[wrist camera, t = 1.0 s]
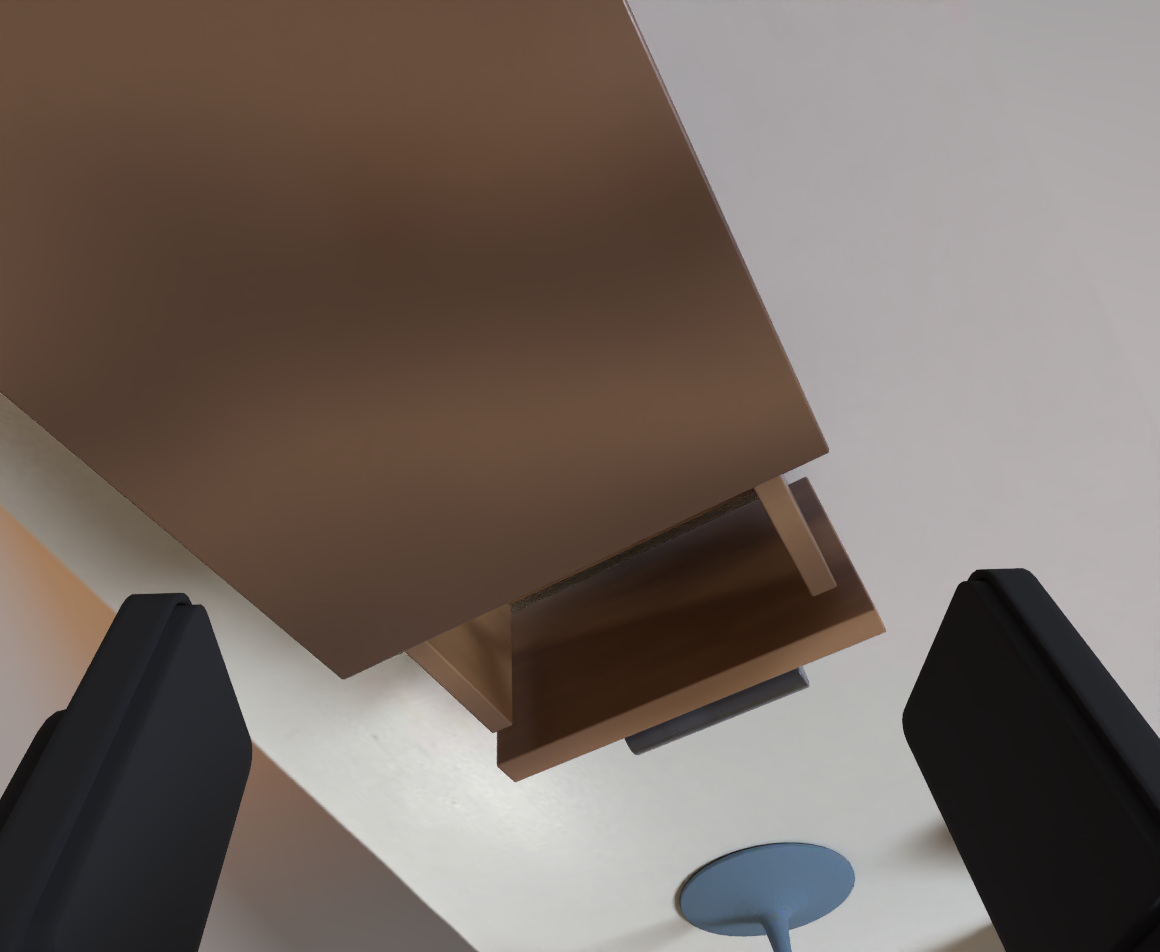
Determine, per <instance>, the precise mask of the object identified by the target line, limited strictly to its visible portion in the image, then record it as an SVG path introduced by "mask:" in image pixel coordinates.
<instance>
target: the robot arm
mask: <svg viewBox="0 0 1160 952" xmlns="http://www.w3.org/2000/svg"><path fill="white" fill-rule="evenodd" d="M902 723H903V730H904V735H905V737H906V740H907V742H908V745H909V747H910V749H911V751H912V753H913V755H914V757H915V759H916V762H917V764H918V766H919V768H920V770H921V772H922V774H923V776H924V779H925V781H926V783H927V785H928V787H929V789H930V791H931V793H932V796H933V798H934V800H935V802H936V804H937V806H938V808H939V810H940V812H941V815H942V817H943V819H944V821H945V823H946V825H947V827H948V829H949V832H950V834H951V836H952V838H953V840H954V842H955V844H956V846H957V849H958V851H959V853H960V855H961V857H962V859H963V861H964V863H965V866H966V868H967V870H968V872H969V874H970V876H971V878H972V880H973V883H974V885H975V887H976V889H977V891H978V893H979V895H980V897H981V900H982V902H983V904H984V906H985V908H986V910H987V912H988V914H989V917H990V919H991V921H992V923H993V925H994V927H995V929H996V931H997V934H998V936H999V938H1000V940H1001V942H1002V944H1003V946H1004V948H1005V951H1006V952H1160V738H1159V737H1158V736H1157V735H1156V733H1155V732H1154V731H1153V729H1152V728H1151V727H1150V725H1149V724H1148V723H1147V722H1146V720H1145V719H1144V718H1143V716H1142V715H1141V714H1140V712H1139V711H1138V710H1137V709H1136V707H1135V706H1134V705H1133V703H1132V702H1131V701H1130V699H1129V698H1128V697H1127V696H1126V694H1125V693H1124V692H1123V690H1122V689H1121V688H1120V686H1119V685H1118V684H1117V683H1116V681H1115V680H1114V679H1113V677H1112V676H1111V675H1110V673H1109V672H1108V671H1107V670H1106V668H1105V667H1104V666H1103V664H1102V663H1101V662H1100V660H1099V659H1098V658H1097V657H1096V655H1095V654H1094V653H1093V651H1092V650H1091V649H1090V647H1089V646H1088V645H1087V644H1086V642H1085V641H1084V640H1083V638H1082V637H1081V636H1080V634H1079V633H1078V632H1077V631H1076V629H1075V628H1074V627H1073V625H1072V624H1071V623H1070V621H1069V620H1068V619H1067V617H1066V616H1065V615H1064V614H1063V612H1062V611H1061V610H1060V608H1059V607H1058V606H1057V604H1056V603H1055V602H1054V601H1053V599H1052V598H1051V597H1050V595H1049V594H1048V593H1047V591H1046V590H1045V589H1044V588H1043V586H1042V585H1041V584H1040V582H1039V581H1038V580H1037V578H1036V577H1035V576H1034V575H1033V574H1032V573H1031V572H1030V571H1028V570H1026V569H1023V568H1016V569H982V570H976V571H975V572H973V573H972V574H971V576H970V577H969V579H968V581H963V582H962V583H960V584H959V585H958V587H957V589H956V591H955V593H954V595H953V598H952V600H951V602H950V605H949V607H948V609H947V612H946V614H945V616H944V619H943V621H942V623H941V626H940V628H939V630H938V632H937V635H936V637H935V639H934V642H933V644H932V646H931V649H930V651H929V653H928V656H927V658H926V660H925V663H924V665H923V667H922V669H921V672H920V674H919V676H918V679H917V681H916V683H915V686H914V688H913V690H912V693H911V695H910V697H909V699H908V702H907V704H906V706H905V709H904V712H903V718H902ZM251 761H252V743H251V738H250V735H249V733H248V730H247V727H246V724H245V721H244V718H243V715H242V712H241V709H240V707H239V704H238V701H237V698H236V695H235V692H234V689H233V686H232V683H231V681H230V678H229V675H228V672H227V669H226V666H225V663H224V660H223V657H222V655H221V652H220V649H219V646H218V643H217V640H216V637H215V634H214V632H213V629H212V626H211V623H210V620H209V617H208V614H207V612H206V610H205V607H204V606H202V605H192V603H191V601H190V599H189V597H188V596H187V595H186V594H184V593H162V594H132V595H130V596H129V597H127V598H126V600H125V601H124V602H123V604H122V605H121V607H120V609H119V611H118V613H117V615H116V617H115V618H114V620H113V622H112V624H111V626H110V628H109V630H108V632H107V634H106V636H105V637H104V639H103V641H102V643H101V645H100V647H99V649H98V650H97V652H96V654H95V656H94V658H93V660H92V662H91V664H90V665H89V667H88V669H87V671H86V673H85V675H84V677H83V679H82V681H81V682H80V684H79V686H78V688H77V690H76V692H75V694H74V696H73V697H72V699H71V701H70V703H69V705H68V707H67V709H65V710H61V711H57V712H55V713H54V714H53V715H52V716H50V717H49V718H48V719H47V720H46V721H45V722H44V724H43V725H42V727H41V728H40V729H39V731H38V732H37V734H36V735H35V737H34V739H33V741H32V743H31V745H30V746H29V748H28V750H27V752H26V754H25V755H24V757H23V759H22V761H21V763H20V764H19V766H18V768H17V770H16V772H15V774H14V775H13V777H12V779H11V781H10V783H9V784H8V786H7V788H6V790H5V792H4V794H3V795H2V797H1V799H0V952H198V949H199V945H200V942H201V939H202V935H203V932H204V928H205V925H206V921H207V918H208V914H209V911H210V907H211V904H212V900H213V897H214V894H215V890H216V886H217V883H218V879H219V876H220V873H221V869H222V865H223V862H224V859H225V855H226V852H227V848H228V844H229V841H230V838H231V834H232V831H233V828H234V824H235V820H236V817H237V814H238V810H239V807H240V803H241V800H242V796H243V793H244V789H245V786H246V782H247V779H248V775H249V772H250V767H251Z"/></svg>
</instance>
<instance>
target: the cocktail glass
mask: <svg viewBox="0 0 1160 952" xmlns="http://www.w3.org/2000/svg"><path fill="white" fill-rule="evenodd" d="M854 882H855V875H854V871H853V868H852V867H851V865H850V863H849V862H848V861H847V860H846V859H845V858H844V857H843V856H841V855H840V854H838V853H837V852H835V851H832V850H830V849H827V848H825V847H821V846H816V845H811V844H802V843H782V844H770V845H764V846H758V847H754V848H750V849H745V850H742V851H739V852H736V853H733V854H730V855H728V856H725V857H723V858H721V859H719V860H717V861H715V862H713V863H711V864H710V865H708V866H706V867H705V868H703V869H702V870H701V871H699V872H698V873H696V874H695V875H694V876H693V877H692V878H691V879H690V880H689V882H688V883H687V885H686V886H685V888H684V889H683V892H682V894H681V899H680V906H681V910H682V913H683V915H684V916H685V918H686V919H687V920H688V921H689V922H690V923H691V924H693V925H694V926H696V927H698V928H700V929H702V930H705V931H708V932H711V933H715V934H719V935H728V936H759V935H767V936H768V938H769V941H770V943H771V945H772V948H773V951H774V952H792V951H791V945H790V938H789V930H790V929H794V928H797V927H800V926H803V925H805V924H808V923H810V922H812V921H815V920H817V919H819V918H821V917H823V916H824V915H826V914H828V913H830V912H831V911H832V910H834V909H835V908H837V907H838V906H839V905H840V904H841V903H842V902H843V901H845V899H846V898H847V897H848V895H849V894H850V893H851V891H852V889H853V887H854Z"/></svg>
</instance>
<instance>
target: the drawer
mask: <svg viewBox="0 0 1160 952" xmlns="http://www.w3.org/2000/svg"><path fill="white" fill-rule="evenodd" d="M753 491H755V493H756V495H757V497H758V499H757V500H755V501H752V502H750V503H748V504H746V505H744V506H742V507H740V508H737V509H735V510H733V511H731V512H729V513H727V514H724V515H722V516H720V517H718V518H716V519H714V520H712V521H709V522H707V523H705V524H703V525H701V526H699V527H696V528H694V529H692V530H690V531H688V532H686V533H684V534H681V535H679V536H677V537H675V538H673V539H671V540H668V541H666V542H664V543H662V544H660V545H658V546H656V547H653V548H651V549H649V550H647V551H645V552H643V553H640V554H638V555H636V556H634V557H632V558H630V559H628V560H625V561H623V562H621V563H619V564H617V565H615V566H612V567H610V568H608V569H606V570H604V571H602V572H600V573H597V574H595V575H593V576H591V577H589V578H587V579H584V580H582V581H580V582H578V583H576V584H574V585H572V586H569V587H567V588H565V589H563V590H561V591H559V592H556V593H554V594H552V595H550V596H548V597H546V598H543V599H541V600H539V601H537V602H535V603H533V604H531V605H528V606H526V607H524V608H522V609H520V610H518V611H515V612H513V613H511V604H513V603H515V602H517V601H520V600H522V599H524V598H526V597H528V596H530V595H532V594H535V593H537V592H539V591H541V590H543V589H545V588H547V587H550V586H552V585H554V584H556V583H558V582H560V581H562V580H565V579H567V578H569V577H571V576H573V575H575V574H577V573H580V572H582V571H584V570H586V569H588V568H590V567H592V566H595V565H597V564H599V563H601V562H603V561H605V560H607V559H610V558H612V557H614V556H616V555H618V554H620V553H622V552H624V551H627V550H629V549H631V548H633V547H635V546H637V545H639V544H642V543H644V542H646V541H648V540H650V539H652V538H654V537H657V536H659V535H661V534H663V533H665V532H667V531H669V530H672V529H674V528H676V527H678V526H680V525H682V524H684V523H687V522H689V521H691V520H693V519H695V518H697V517H699V516H702V515H704V514H706V513H708V512H710V511H712V510H714V509H717V508H719V507H721V506H723V505H725V504H727V503H729V502H731V501H734V500H736V499H738V498H740V497H742V496H744V495H746V494H749V493H751V492H753ZM884 632H886V629H885V627H884V624H883V622H882V620H881V618H880V616H879V614H878V612H877V610H876V608H875V606H874V604H873V602H872V600H871V598H870V596H869V594H868V593H867V591H866V589H865V587H864V585H863V583H862V581H861V579H860V577H859V575H858V573H857V572H856V570H855V568H854V566H853V564H852V562H851V560H850V558H849V556H848V554H847V552H846V551H845V549H844V547H843V545H842V543H841V541H840V539H839V537H838V535H837V533H836V531H835V529H834V528H833V526H832V524H831V522H830V520H829V518H828V516H827V514H826V512H825V510H824V508H823V507H822V505H821V503H820V501H819V499H818V497H817V495H816V493H815V491H814V489H813V487H812V486H811V484H810V482H809V480H808V478H807V477H804V478H802V479H800V480H798V481H796V482H793V483H791V484H789V485H788V483H787V481H786V479H785V477H784V475H783V474H782V475H780V476H778V477H776V478H773V479H771V480H769V481H767V482H765V483H763V484H761V485H758V486H756V487H754V488H752V489H750V490H748V491H746V492H743V493H741V494H739V495H737V496H735V497H733V498H731V499H729V500H726V501H724V502H722V503H720V504H718V505H716V506H714V507H711V508H709V509H707V510H705V511H703V512H701V513H699V514H697V515H694V516H692V517H690V518H688V519H686V520H684V521H682V522H679V523H677V524H675V525H673V526H671V527H669V528H667V529H664V530H662V531H660V532H658V533H656V534H654V535H652V536H650V537H647V538H645V539H643V540H641V541H639V542H637V543H635V544H632V545H630V546H628V547H626V548H624V549H622V550H620V551H618V552H615V553H613V554H611V555H609V556H607V557H605V558H603V559H600V560H598V561H596V562H594V563H592V564H590V565H588V566H585V567H583V568H581V569H579V570H577V571H575V572H573V573H571V574H568V575H566V576H564V577H562V578H560V579H558V580H556V581H553V582H551V583H549V584H547V585H545V586H543V587H541V588H539V589H536V590H534V591H532V592H530V593H528V594H526V595H524V596H521V597H519V598H517V599H515V600H513V601H511V602H509V603H506V604H504V605H502V606H500V607H498V608H496V609H494V610H492V611H489V612H487V613H485V614H483V615H481V616H479V617H477V618H474V619H472V620H470V621H468V622H466V623H464V624H462V625H460V626H457V627H455V628H453V629H451V630H449V631H447V632H445V633H442V634H440V635H438V636H436V637H434V638H432V639H430V640H427V641H425V642H423V643H421V644H419V645H417V646H415V647H413V648H410V649H408V650H406V651H405V652H406V653H407V654H408V655H409V656H410V657H411V658H413V659H414V660H415V661H416V662H417V663H418V664H419V665H420V666H421V667H422V668H423V669H424V670H425V671H426V672H428V673H429V674H430V675H431V676H432V677H433V678H434V679H435V680H436V681H437V682H438V683H439V684H440V685H442V686H443V687H444V688H445V689H446V690H447V691H448V692H449V693H450V694H451V695H452V696H453V697H454V698H455V699H457V700H458V701H459V702H460V703H461V704H462V705H463V706H464V707H465V708H466V709H467V710H468V711H469V712H470V713H472V714H473V715H474V716H475V717H476V718H477V719H478V720H479V721H480V722H481V723H482V724H483V725H484V726H486V727H487V728H488V729H489V730H490V731H491V732H492V733H495V732H497V766H498V767H499V768H500V769H501V770H502V771H503V772H504V773H505V774H506V775H507V776H509V777H510V778H511V779H512V780H513V781H514V782H517V781H520V780H522V779H525V778H527V777H530V776H532V775H535V774H537V773H539V772H542V771H544V770H547V769H549V768H552V767H554V766H557V765H559V764H562V763H564V762H567V761H569V760H572V759H574V758H576V757H579V756H581V755H584V754H586V753H589V752H591V751H594V750H596V749H599V748H601V747H604V746H606V745H608V744H611V743H613V742H616V741H618V740H621V739H623V738H625V741H626V743H627V745H628V747H629V748H630V750H631V751H632V752H633V753H634V754H635V755H640V754H642V753H645V752H647V751H650V750H652V749H655V748H657V747H660V746H662V745H665V744H667V743H670V742H672V741H675V740H678V739H680V738H683V737H685V736H688V735H690V734H693V733H695V732H698V731H700V730H703V729H705V728H708V727H710V726H713V725H715V724H718V723H720V722H723V721H725V720H728V719H730V718H733V717H735V716H738V715H740V714H743V713H745V712H748V711H750V710H753V709H755V708H758V707H760V706H763V705H765V704H768V703H770V702H773V701H775V700H778V699H780V698H783V697H785V696H788V695H790V694H793V693H795V692H798V691H801V690H803V689H806V688H808V687H809V681H808V678H807V676H806V673H805V671H804V669H803V665H806V664H808V663H811V662H813V661H815V660H818V659H820V658H823V657H825V656H828V655H830V654H833V653H835V652H838V651H840V650H843V649H845V648H847V647H850V646H852V645H855V644H857V643H860V642H862V641H865V640H867V639H870V638H872V637H875V636H877V635H880V634H882V633H884Z"/></svg>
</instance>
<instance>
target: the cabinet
mask: <svg viewBox="0 0 1160 952" xmlns="http://www.w3.org/2000/svg"><path fill="white" fill-rule="evenodd" d="M0 392H1V393H3V394H4V395H5V396H6V397H7V398H8V399H10V400H11V401H12V402H13V403H14V404H16V405H17V406H18V407H19V408H20V409H22V410H23V411H24V412H25V413H26V414H27V415H29V416H30V417H31V418H32V419H33V420H35V421H36V422H37V423H38V424H39V425H41V426H42V427H43V428H44V429H45V430H46V431H48V432H49V433H50V434H51V435H52V436H54V437H55V438H56V439H57V440H58V441H60V442H61V443H62V444H63V445H64V446H66V447H67V448H68V449H69V450H70V451H71V452H73V453H74V454H75V455H76V456H77V457H79V458H80V459H81V460H82V461H83V462H85V463H86V464H87V465H88V466H89V467H90V468H92V469H93V470H94V471H95V472H96V473H98V474H99V475H100V476H101V477H102V478H104V479H105V480H106V481H107V482H108V483H110V484H111V485H112V486H113V487H114V488H115V489H117V490H118V491H119V492H120V493H121V494H123V495H124V496H125V497H126V498H127V499H129V500H130V501H131V502H132V503H133V504H134V505H136V506H137V507H138V508H139V509H140V510H142V511H143V512H144V513H145V514H146V515H148V516H149V517H150V518H151V519H152V520H153V521H155V522H156V523H157V524H158V525H159V526H161V527H162V528H163V529H164V530H165V531H167V532H168V533H169V534H170V535H171V536H173V537H174V538H175V539H176V540H177V541H178V542H180V543H181V544H182V545H183V546H184V547H186V548H187V549H188V550H189V551H190V552H192V553H193V554H194V555H195V556H196V557H197V558H199V559H200V560H201V561H202V562H203V563H205V564H206V565H207V566H208V567H209V568H211V569H212V570H213V571H214V572H215V573H217V574H218V575H219V576H220V577H221V578H222V579H224V580H225V581H226V582H227V583H228V584H230V585H231V586H232V587H233V588H234V589H236V590H237V591H238V592H239V593H240V594H241V595H243V596H244V597H245V598H246V599H247V600H249V601H250V602H251V603H252V604H253V605H255V606H256V607H257V608H258V609H259V610H260V611H262V612H263V613H264V614H265V615H266V616H268V617H269V618H270V619H271V620H272V621H274V622H275V623H276V624H277V625H278V626H280V627H281V628H282V629H283V630H284V631H285V632H287V633H288V634H289V635H290V636H291V637H293V638H294V639H295V640H296V641H297V642H299V643H300V644H301V645H302V646H303V647H304V648H306V649H307V650H308V651H309V652H310V653H312V654H313V655H314V656H315V657H316V658H318V659H319V660H320V661H321V662H322V663H324V664H325V665H326V666H327V667H328V668H329V669H331V670H332V671H333V672H334V673H335V674H337V675H338V676H339V677H340V678H341V679H346V678H348V677H351V676H353V675H355V674H357V673H359V672H361V671H363V670H366V669H368V668H370V667H372V666H374V665H376V664H378V663H381V662H383V661H385V660H387V659H389V658H391V657H393V656H395V655H398V654H400V653H402V652H404V651H406V650H408V649H410V648H413V647H415V646H417V645H419V644H421V643H423V642H425V641H427V640H430V639H432V638H434V637H436V636H438V635H440V634H442V633H445V632H447V631H449V630H451V629H453V628H455V627H457V626H460V625H462V624H464V623H466V622H468V621H470V620H472V619H474V618H477V617H479V616H481V615H483V614H485V613H487V612H489V611H492V610H494V609H496V608H498V607H500V606H502V605H504V604H506V603H509V602H511V601H513V600H515V599H517V598H519V597H521V596H524V595H526V594H528V593H530V592H532V591H534V590H536V589H539V588H541V587H543V586H545V585H547V584H549V583H551V582H553V581H556V580H558V579H560V578H562V577H564V576H566V575H568V574H571V573H573V572H575V571H577V570H579V569H581V568H583V567H585V566H588V565H590V564H592V563H594V562H596V561H598V560H600V559H603V558H605V557H607V556H609V555H611V554H613V553H615V552H618V551H620V550H622V549H624V548H626V547H628V546H630V545H632V544H635V543H637V542H639V541H641V540H643V539H645V538H647V537H650V536H652V535H654V534H656V533H658V532H660V531H662V530H664V529H667V528H669V527H671V526H673V525H675V524H677V523H679V522H682V521H684V520H686V519H688V518H690V517H692V516H694V515H697V514H699V513H701V512H703V511H705V510H707V509H709V508H711V507H714V506H716V505H718V504H720V503H722V502H724V501H726V500H729V499H731V498H733V497H735V496H737V495H739V494H741V493H743V492H746V491H748V490H750V489H752V488H754V487H756V486H758V485H761V484H763V483H765V482H767V481H769V480H771V479H773V478H776V477H778V476H780V475H782V474H784V473H786V472H788V471H790V470H793V469H795V468H797V467H799V466H801V465H803V464H805V463H808V462H810V461H812V460H814V459H816V458H818V457H820V456H822V455H825V454H827V453H828V452H829V448H828V445H827V443H826V441H825V439H824V437H823V434H822V432H821V430H820V428H819V426H818V423H817V421H816V419H815V417H814V414H813V412H812V410H811V408H810V406H809V403H808V401H807V399H806V397H805V394H804V392H803V390H802V388H801V386H800V383H799V381H798V379H797V377H796V375H795V372H794V370H793V368H792V366H791V363H790V361H789V359H788V357H787V355H786V352H785V350H784V348H783V346H782V344H781V341H780V339H779V337H778V335H777V332H776V330H775V328H774V326H773V324H772V321H771V319H770V317H769V315H768V312H767V310H766V308H765V306H764V304H763V301H762V299H761V297H760V295H759V293H758V290H757V288H756V286H755V284H754V281H753V279H752V277H751V275H750V273H749V270H748V268H747V266H746V264H745V262H744V259H743V257H742V255H741V253H740V250H739V248H738V246H737V244H736V242H735V239H734V237H733V235H732V233H731V230H730V228H729V226H728V224H727V222H726V219H725V217H724V215H723V213H722V211H721V208H720V206H719V204H718V202H717V199H716V197H715V195H714V193H713V191H712V188H711V186H710V184H709V182H708V180H707V177H706V175H705V173H704V171H703V168H702V166H701V164H700V162H699V160H698V157H697V155H696V153H695V151H694V148H693V146H692V144H691V142H690V140H689V137H688V135H687V133H686V131H685V129H684V126H683V124H682V122H681V120H680V117H679V115H678V113H677V111H676V109H675V106H674V104H673V102H672V100H671V97H670V95H669V93H668V91H667V89H666V86H665V84H664V82H663V80H662V78H661V75H660V73H659V71H658V69H657V66H656V64H655V62H654V60H653V58H652V55H651V53H650V51H649V49H648V47H647V44H646V42H645V40H644V38H643V35H642V33H641V31H640V29H639V27H638V24H637V22H636V20H635V18H634V15H633V13H632V11H631V9H630V7H629V4H628V2H627V0H0Z"/></svg>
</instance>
